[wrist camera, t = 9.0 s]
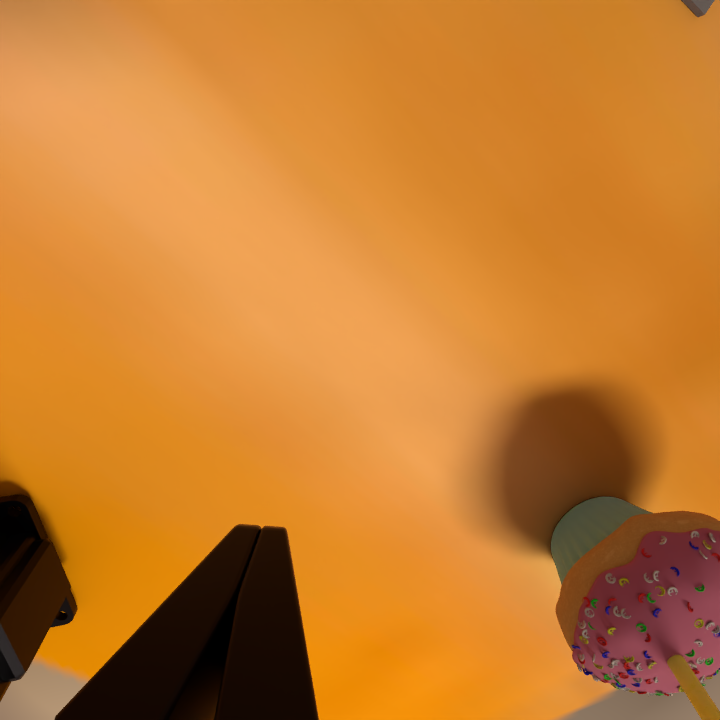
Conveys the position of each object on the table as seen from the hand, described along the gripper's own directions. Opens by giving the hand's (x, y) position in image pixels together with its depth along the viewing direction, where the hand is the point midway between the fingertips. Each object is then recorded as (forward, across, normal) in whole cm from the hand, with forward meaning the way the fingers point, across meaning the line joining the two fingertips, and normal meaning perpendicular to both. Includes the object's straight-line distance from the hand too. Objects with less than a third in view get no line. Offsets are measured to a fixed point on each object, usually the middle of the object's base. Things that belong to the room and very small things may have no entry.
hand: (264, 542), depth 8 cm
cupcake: (+13, -14, +12) cm, 22 cm away
